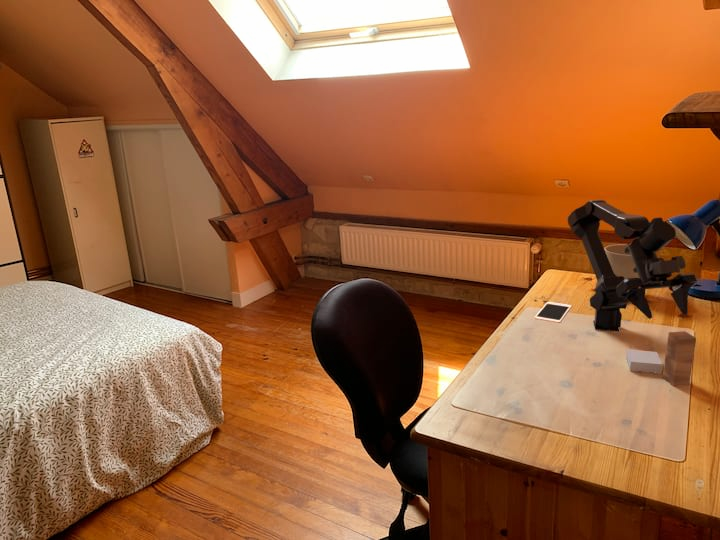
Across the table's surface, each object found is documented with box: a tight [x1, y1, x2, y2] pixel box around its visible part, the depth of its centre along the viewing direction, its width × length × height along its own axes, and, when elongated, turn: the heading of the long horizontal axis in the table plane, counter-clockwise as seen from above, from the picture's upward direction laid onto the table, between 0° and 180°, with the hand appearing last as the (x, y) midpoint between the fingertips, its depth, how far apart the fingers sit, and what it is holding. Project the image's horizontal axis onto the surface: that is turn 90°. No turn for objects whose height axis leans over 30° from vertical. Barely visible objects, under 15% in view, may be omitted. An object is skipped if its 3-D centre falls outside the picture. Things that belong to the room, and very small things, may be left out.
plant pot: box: [604, 243, 640, 279], centre depth 185 cm, size 15×15×16 cm
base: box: [625, 349, 663, 374], centre depth 139 cm, size 7×7×2 cm
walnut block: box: [662, 330, 697, 387], centre depth 130 cm, size 4×4×12 cm
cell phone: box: [534, 301, 572, 324], centre depth 176 cm, size 8×16×1 cm, turn 147°
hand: (668, 316), depth 135 cm, fingers open, 9 cm apart
